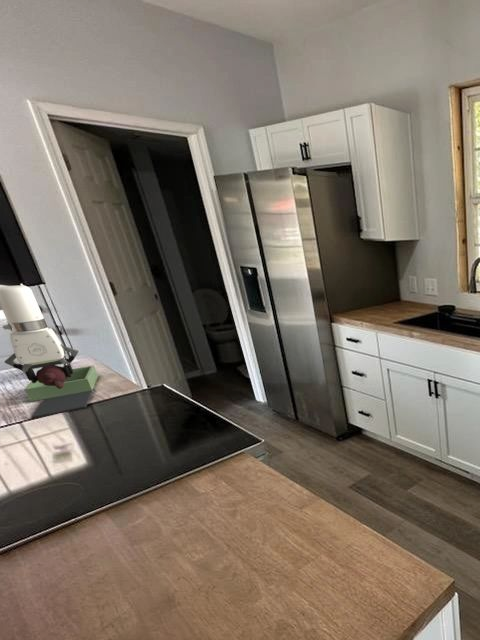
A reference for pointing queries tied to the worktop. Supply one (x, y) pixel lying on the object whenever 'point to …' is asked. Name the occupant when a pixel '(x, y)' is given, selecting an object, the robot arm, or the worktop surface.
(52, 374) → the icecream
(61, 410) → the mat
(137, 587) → the worktop surface
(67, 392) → the basket
